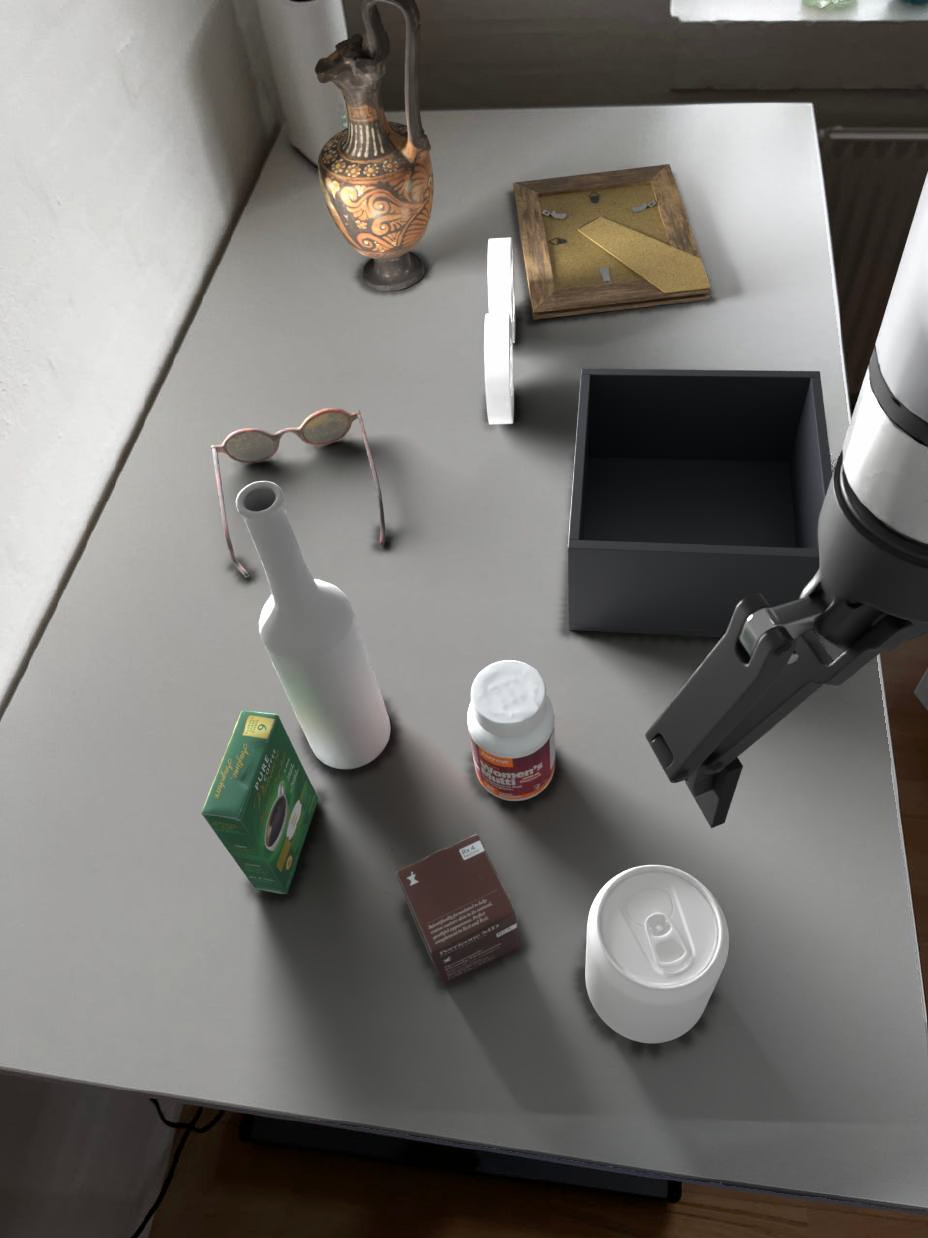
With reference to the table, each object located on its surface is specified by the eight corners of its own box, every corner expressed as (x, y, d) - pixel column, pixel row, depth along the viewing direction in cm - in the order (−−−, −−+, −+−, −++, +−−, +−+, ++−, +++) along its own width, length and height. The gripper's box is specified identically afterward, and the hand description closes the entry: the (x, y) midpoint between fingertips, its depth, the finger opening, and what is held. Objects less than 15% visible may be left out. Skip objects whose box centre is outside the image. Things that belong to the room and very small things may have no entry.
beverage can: (676, 904, 68) (694, 838, 58) (729, 1020, 64) (758, 970, 54) (567, 943, 67) (566, 882, 58) (613, 1064, 63) (620, 1020, 53)
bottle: (376, 684, 81) (299, 441, 58) (401, 751, 77) (329, 519, 54) (299, 712, 80) (190, 476, 57) (321, 781, 76) (213, 559, 53)
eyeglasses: (365, 432, 97) (356, 394, 93) (394, 544, 89) (386, 507, 85) (220, 467, 96) (204, 430, 92) (236, 583, 88) (219, 548, 84)
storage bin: (812, 642, 79) (842, 557, 70) (568, 630, 82) (567, 547, 73) (795, 463, 90) (820, 370, 81) (580, 458, 93) (581, 367, 84)
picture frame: (709, 301, 104) (668, 175, 117) (711, 286, 102) (669, 161, 116) (533, 321, 105) (513, 194, 118) (533, 307, 103) (512, 180, 117)
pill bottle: (479, 808, 74) (466, 737, 64) (472, 735, 77) (458, 658, 68) (561, 798, 74) (559, 726, 64) (550, 726, 77) (547, 648, 68)
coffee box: (286, 788, 76) (239, 705, 65) (321, 795, 75) (280, 711, 65) (252, 889, 72) (195, 817, 61) (289, 896, 71) (238, 825, 60)
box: (441, 986, 67) (428, 955, 61) (408, 907, 70) (392, 870, 64) (522, 947, 68) (517, 912, 62) (485, 870, 71) (477, 831, 65)
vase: (362, 238, 116) (306, -48, 91) (463, 247, 113) (433, -45, 88) (328, 301, 110) (258, 13, 85) (434, 313, 107) (393, 19, 82)
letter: (513, 445, 95) (507, 364, 86) (490, 446, 95) (482, 365, 87) (515, 299, 107) (511, 215, 99) (495, 300, 107) (489, 217, 99)
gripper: (1171, 308, 38) (981, 620, 55) (574, 519, 34) (573, 780, 52) (1337, 434, 33) (1075, 730, 51) (675, 688, 30) (637, 911, 48)
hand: (821, 756), depth 51 cm, fingers open, 13 cm apart
